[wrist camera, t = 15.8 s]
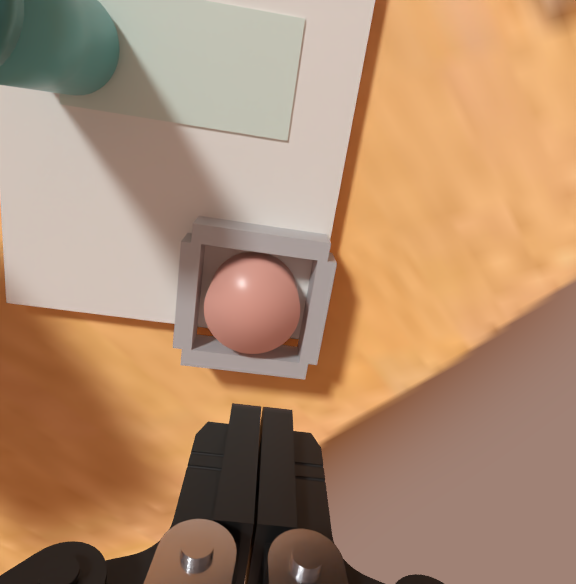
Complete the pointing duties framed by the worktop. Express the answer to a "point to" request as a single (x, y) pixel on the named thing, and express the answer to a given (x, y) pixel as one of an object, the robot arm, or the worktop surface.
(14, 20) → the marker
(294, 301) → the button
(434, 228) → the worktop surface
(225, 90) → the board
